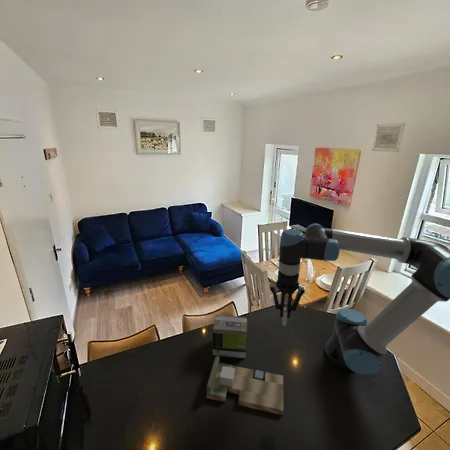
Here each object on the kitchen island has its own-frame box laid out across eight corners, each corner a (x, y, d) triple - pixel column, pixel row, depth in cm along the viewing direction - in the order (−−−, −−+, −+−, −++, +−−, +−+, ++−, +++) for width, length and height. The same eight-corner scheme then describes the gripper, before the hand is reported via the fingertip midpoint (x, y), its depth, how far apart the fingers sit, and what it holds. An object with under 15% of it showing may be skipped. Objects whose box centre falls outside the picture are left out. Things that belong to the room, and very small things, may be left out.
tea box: (246, 341, 122) (247, 316, 117) (245, 359, 113) (247, 332, 108) (215, 338, 123) (215, 313, 118) (212, 355, 114) (212, 329, 109)
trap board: (282, 380, 103) (284, 369, 101) (282, 415, 90) (284, 403, 88) (215, 366, 108) (215, 355, 106) (206, 397, 95) (206, 386, 93)
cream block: (234, 375, 102) (235, 368, 100) (232, 387, 97) (232, 379, 96) (222, 373, 103) (222, 365, 101) (219, 384, 98) (219, 376, 97)
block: (263, 377, 104) (263, 371, 103) (262, 384, 101) (262, 378, 100) (255, 375, 105) (255, 369, 104) (254, 382, 102) (254, 376, 101)
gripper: (305, 267, 96) (300, 318, 103) (270, 264, 98) (267, 315, 106) (308, 277, 89) (302, 332, 96) (270, 274, 91) (267, 328, 99)
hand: (284, 323), depth 101 cm, fingers closed
